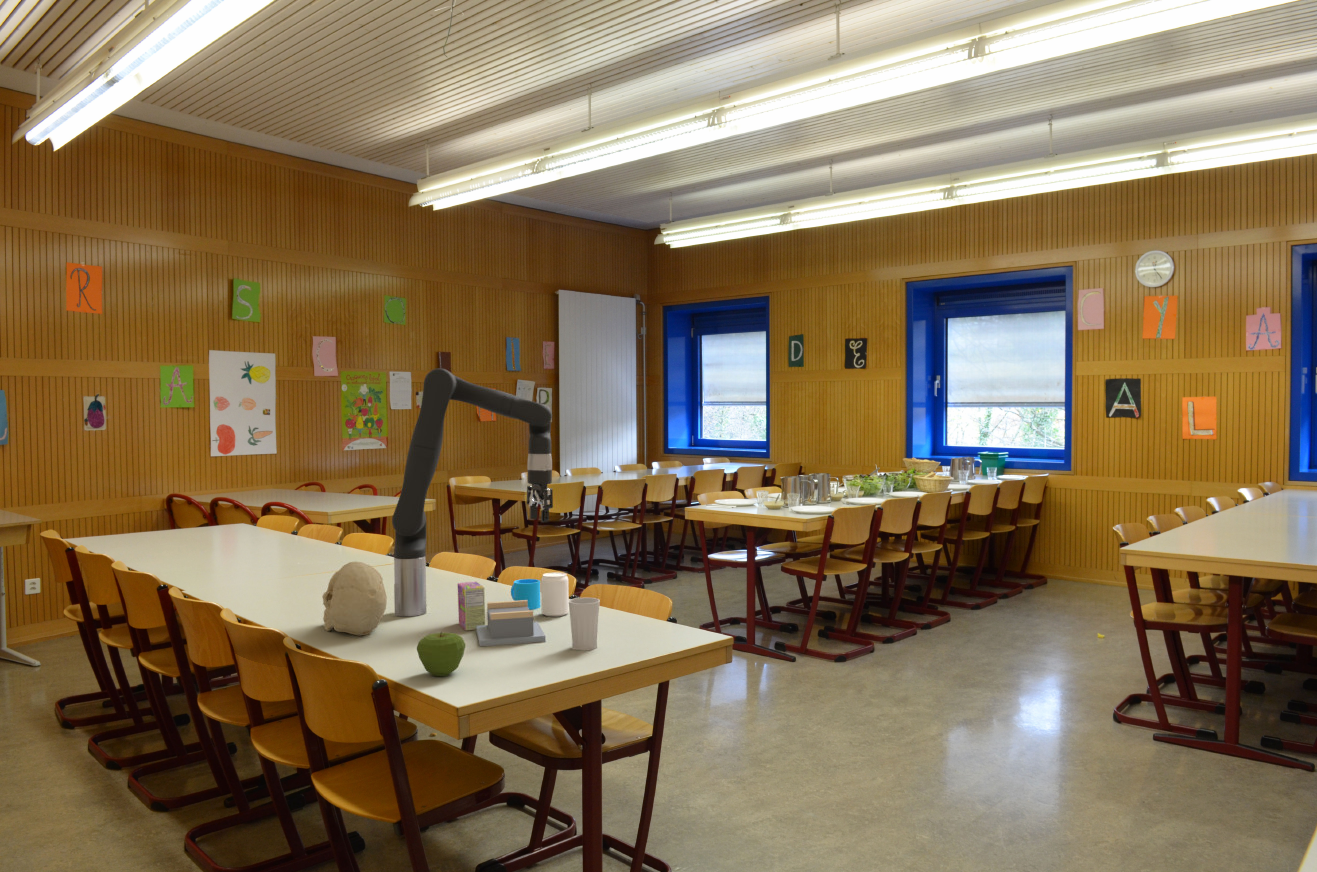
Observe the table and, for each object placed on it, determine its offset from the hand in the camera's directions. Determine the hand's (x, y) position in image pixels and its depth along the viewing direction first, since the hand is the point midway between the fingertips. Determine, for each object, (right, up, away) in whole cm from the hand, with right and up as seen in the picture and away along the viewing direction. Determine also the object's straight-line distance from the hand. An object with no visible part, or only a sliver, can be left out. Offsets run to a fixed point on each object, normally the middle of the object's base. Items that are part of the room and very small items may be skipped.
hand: (539, 520), depth 273 cm
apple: (-13, -29, -69) cm, 76 cm away
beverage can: (+6, -28, -8) cm, 29 cm away
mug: (-5, -27, +3) cm, 28 cm away
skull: (-49, -29, -26) cm, 62 cm away
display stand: (-3, -28, -35) cm, 45 cm away
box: (-16, -28, -22) cm, 39 cm away
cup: (+18, -28, -47) cm, 57 cm away
